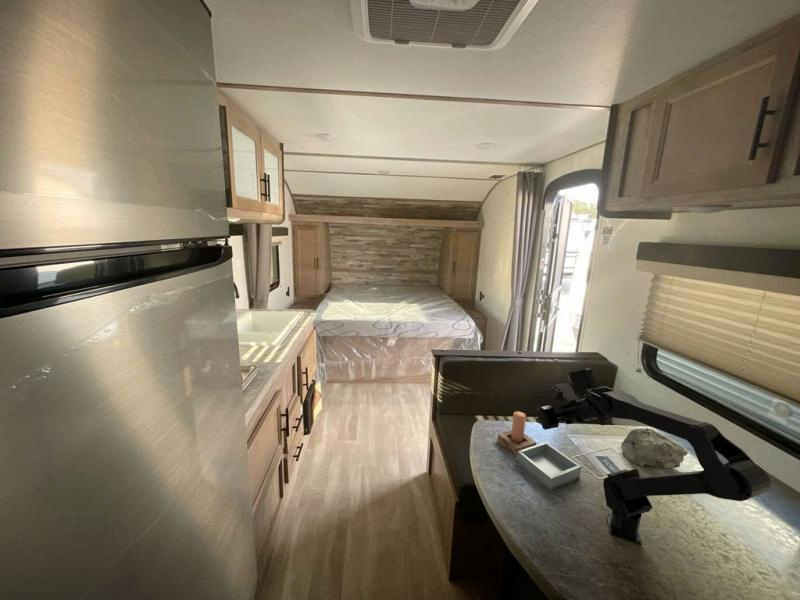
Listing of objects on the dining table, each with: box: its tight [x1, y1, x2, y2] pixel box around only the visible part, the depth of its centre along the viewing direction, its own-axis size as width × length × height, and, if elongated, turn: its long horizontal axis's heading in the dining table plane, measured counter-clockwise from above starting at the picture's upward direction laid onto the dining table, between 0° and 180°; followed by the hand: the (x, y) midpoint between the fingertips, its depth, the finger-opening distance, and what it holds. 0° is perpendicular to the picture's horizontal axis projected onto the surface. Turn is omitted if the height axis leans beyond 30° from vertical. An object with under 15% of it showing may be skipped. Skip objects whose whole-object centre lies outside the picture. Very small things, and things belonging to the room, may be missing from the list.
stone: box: [620, 427, 689, 470], centre depth 105 cm, size 10×12×15 cm
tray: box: [515, 441, 582, 491], centre depth 100 cm, size 13×13×4 cm
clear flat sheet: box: [571, 447, 641, 480], centre depth 105 cm, size 11×1×18 cm
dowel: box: [511, 411, 527, 444], centre depth 111 cm, size 4×4×12 cm
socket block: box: [497, 429, 537, 458], centre depth 112 cm, size 9×9×3 cm
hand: (548, 418), depth 103 cm, fingers open, 9 cm apart
